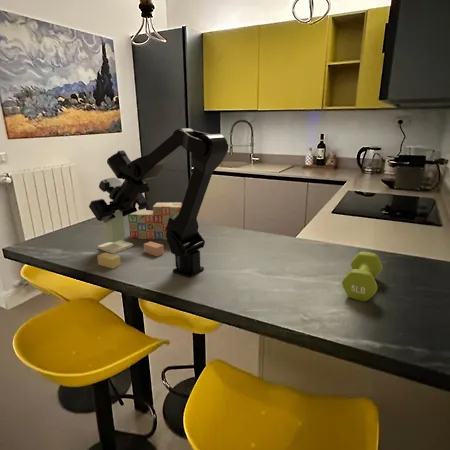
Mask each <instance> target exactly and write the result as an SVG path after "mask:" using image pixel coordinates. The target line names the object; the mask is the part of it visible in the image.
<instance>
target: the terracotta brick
mask: <svg viewBox="0 0 450 450" xmlns="http://www.w3.org/2000/svg"><path fill="white" fill-rule="evenodd" d="M164 249H165V248H164V244H162V243H158V242H154V241H151V240H150V241H148V242H145V243H143V252H144V253H147V254H148V255H152V256H154V257H159V256H161V255H164V254H165V250H164Z"/></svg>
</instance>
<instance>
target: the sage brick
mask: <svg viewBox="0 0 450 450" xmlns="http://www.w3.org/2000/svg"><path fill="white" fill-rule="evenodd" d="M114 215H115V218H114V219H112V220H110V221H108V222H106V223H104V221H103V220H102V226H103V233H104V240H105V242H106V241H107V242H113V243H115V242H118V241H121V240H123V241H124V240H125V239H126V235H125V226H124V225H125V224H124V217H123V214H122V211H120V210H118V211H116V212H115V213H114Z"/></svg>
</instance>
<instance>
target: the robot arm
mask: <svg viewBox="0 0 450 450" xmlns="http://www.w3.org/2000/svg"><path fill="white" fill-rule="evenodd" d="M183 150H186V151H187V152H189V153H191V154H190V155H191V160H192V166H193V169H192V170H191V175H190V178H189V181H188V183H187V187H186V190H185V194H184V196H183V200H182V202H181V203H182V206H181V209H180V212H179V214H178V215H176V216H173V217H170V218H169V220H168V225H167V228H166V229H165V230H167V232H166V238H167V239H166V240H167V244H168V247H169V250H170V253H171V254H172V255H174V259H175V268H173V269H172V272H173V273H176V274H179V275H181V276H185V277H188V278H191V277H193V276H195V275H197V274H198V273H200V272H202V271H204V270H205V267H203V266H201V250H200V249H203V248H204V247H205V244H206V242H205V241H206V240H205V239H204V238H203V237H202V235H201V234H200V232H199V222H198V219H197V218H198V216H199V213H200V210H201V207H202V203H203V201H204V199H205V195H206V193H207V190H208V186H209V183H210V181H211V178H212V175H213V173H214V172H215V170H216V169H217V168H218V167H219V166H220V165H221V164H222V162H223V161H224V159H225V157H226V156H227V154H228V151H229V144H228V141H227V139H226V137H225V136H224V135H223V134H220V133H215V134H214V133H212V134H210V133H207V132H202V131H198V130H195V129H192V128H189V127H188V128H187V127H185V128H177V129H175V130H174V131H173V132H172V134H171V135H169V136H168V138H166V139H165V140H164V141H163V142H162V143H160V144H159V145H158V146H157V147H156V148H155V149H153V150H152V151H151V152H149V153H148V154H146V155H143V156H140V157H136V158H135V159H133V160H131V159H130V158H129V156H128V155H127V153H126V151H125V150H118V151H117V152H116V153H114V154H112V155H111V156H110V157H108V158H107V160H106V163H107V165H108V166H109V168H110V170H111V172H113V174H114V175H115V177H108V178H104V179H103V180H101V181H100V182H99V185H98V188H99V189H100V190H101V192H102V193H105V192H107V193H108V194H109V195H108V198H109V199H110V200H111V201H109V204H108V203H107V202H106V200H105V199H103V198H99V199H95V200H91V201H90V203H89V205H88V208H89V209H90V211H91V212H92V214H93V215H94V217H95V218H96V220H97V221H99V222H103V221H104V223H106V222H108V221H110V220H112V219H114V218H115V215H114V213H115V212H116V211H118V210H120V211H122V214H123V218H124V217H126V216H127V217H128V215H129V214H131V213H134V212H137V210H146V209H147V207H148V206H149V202H148V200H147V199H146V197H145V196H144V194H145V193H149V192H150V189H151V188H150V187H149V183H148V182H147V181H145V180H149V179H155V178H156V177H157V176H158V175H159V174H160V172H161V171H162V167H163V166H164V165H165V164H166V163H167V162H170V160H171V159H173V158H174V157H175V156H176V155H178V154H179V153H180V152H181V151H183ZM120 179H121V180H124V181H123V182H122V181H121V180H120ZM136 205H137V206H136ZM136 207H137V208H138V209H137V208H136Z"/></svg>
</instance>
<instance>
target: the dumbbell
mask: <svg viewBox="0 0 450 450" xmlns="http://www.w3.org/2000/svg"><path fill="white" fill-rule="evenodd" d="M350 267H351V268H352V269H351V270H350V271H349V272H348V273H347V274H346V275H345V277H343V279H342V282H341V285H342V288H343V290H344V292H345V294H346V296H347V297H348V298H350V299H351V300H354V301H355V300H356V301H360V302H368V301H369V300H370V299H371V298H373V296H374V295H375V294H376V293H377V290H378V288H379V287H378V284H377V281H376V278H377V276H379V275H380V274H381V272H382V270H383V264H382V262H381V259H380V258H379V255H377V253H375V252H370V251H369V252H368V251H359V252H358V253H357V254H356V255H355V256H354V257H353V259H352V260H351V262H350Z"/></svg>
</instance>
